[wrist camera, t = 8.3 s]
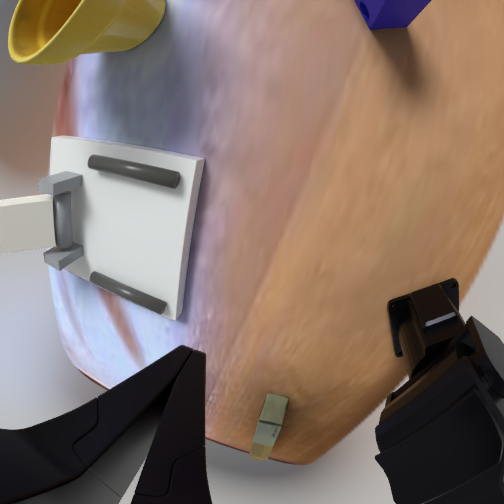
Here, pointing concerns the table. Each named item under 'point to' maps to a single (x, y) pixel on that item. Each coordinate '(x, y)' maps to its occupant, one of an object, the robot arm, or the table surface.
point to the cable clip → (390, 12)
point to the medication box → (268, 426)
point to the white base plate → (127, 218)
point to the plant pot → (79, 28)
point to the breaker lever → (36, 222)
